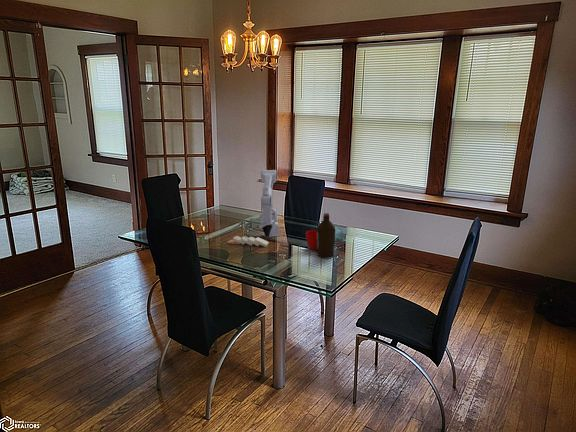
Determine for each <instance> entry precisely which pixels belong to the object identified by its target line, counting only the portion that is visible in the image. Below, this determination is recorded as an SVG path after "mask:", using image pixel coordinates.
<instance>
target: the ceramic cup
mask: <svg viewBox="0 0 576 432" xmlns="http://www.w3.org/2000/svg"><path fill="white" fill-rule="evenodd" d="M305 239H306V241H305V242H306V243H307V246H308V247H309V248H310V250H312V251H316V252H317V229H315V230H313V229H311V230H307V231H306V232H305Z"/></svg>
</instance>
